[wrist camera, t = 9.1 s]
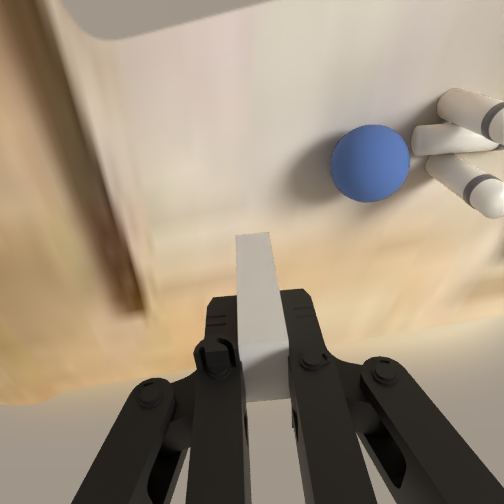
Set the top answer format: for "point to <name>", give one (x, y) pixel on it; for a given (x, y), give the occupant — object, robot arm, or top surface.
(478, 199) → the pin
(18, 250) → the top surface
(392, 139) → the ball
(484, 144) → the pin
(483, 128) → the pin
